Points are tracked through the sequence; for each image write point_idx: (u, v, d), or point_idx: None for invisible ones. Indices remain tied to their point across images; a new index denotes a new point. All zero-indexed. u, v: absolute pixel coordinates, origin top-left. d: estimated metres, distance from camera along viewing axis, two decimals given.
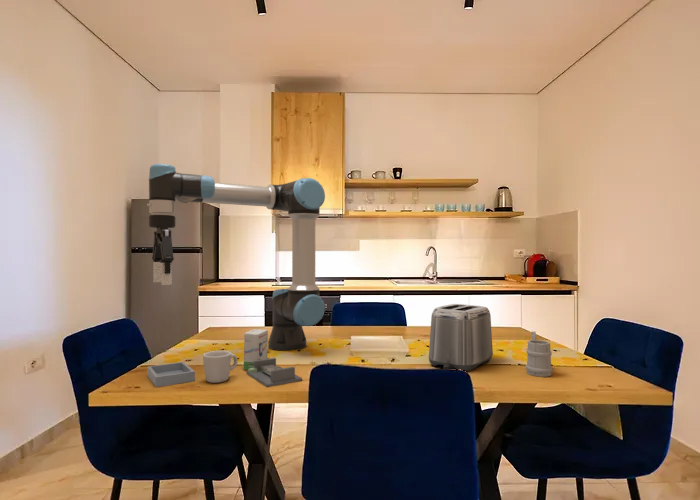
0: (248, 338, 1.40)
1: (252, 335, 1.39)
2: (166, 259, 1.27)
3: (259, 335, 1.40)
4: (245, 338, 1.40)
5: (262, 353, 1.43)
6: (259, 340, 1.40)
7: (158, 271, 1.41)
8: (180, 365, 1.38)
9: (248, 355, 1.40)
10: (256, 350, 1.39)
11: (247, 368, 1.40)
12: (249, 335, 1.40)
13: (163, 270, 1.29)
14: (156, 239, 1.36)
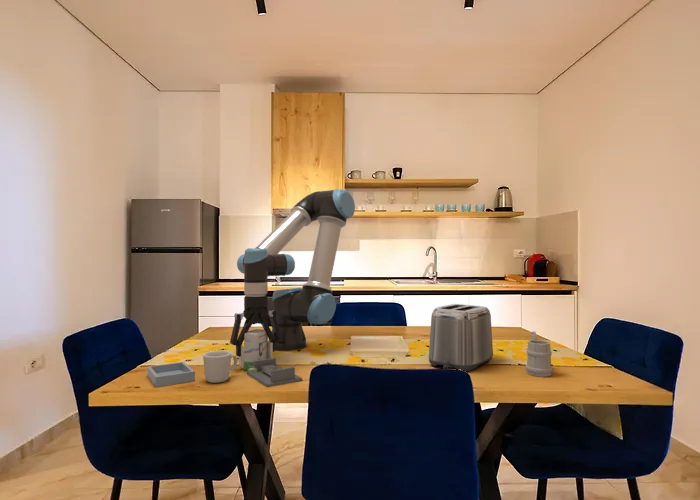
0: (248, 337, 1.40)
1: (252, 335, 1.39)
2: None
3: (259, 335, 1.40)
4: (244, 338, 1.40)
5: (262, 353, 1.43)
6: (259, 339, 1.40)
7: (268, 351, 1.46)
8: (180, 365, 1.38)
9: (248, 355, 1.40)
10: (256, 350, 1.39)
11: (247, 368, 1.40)
12: (249, 335, 1.40)
13: None
14: None
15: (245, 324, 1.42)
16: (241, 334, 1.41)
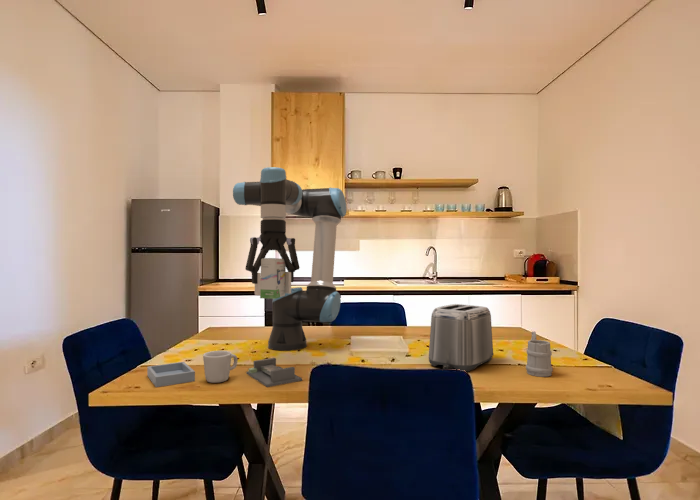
0: (265, 263, 1.28)
1: (269, 260, 1.28)
2: (246, 269, 1.28)
3: (277, 261, 1.29)
4: (261, 264, 1.28)
5: (280, 282, 1.32)
6: (277, 266, 1.29)
7: (286, 282, 1.35)
8: (180, 365, 1.38)
9: (265, 282, 1.28)
10: (274, 276, 1.28)
11: (264, 296, 1.28)
12: (266, 260, 1.28)
13: None
14: None
15: (262, 250, 1.30)
16: (257, 260, 1.29)
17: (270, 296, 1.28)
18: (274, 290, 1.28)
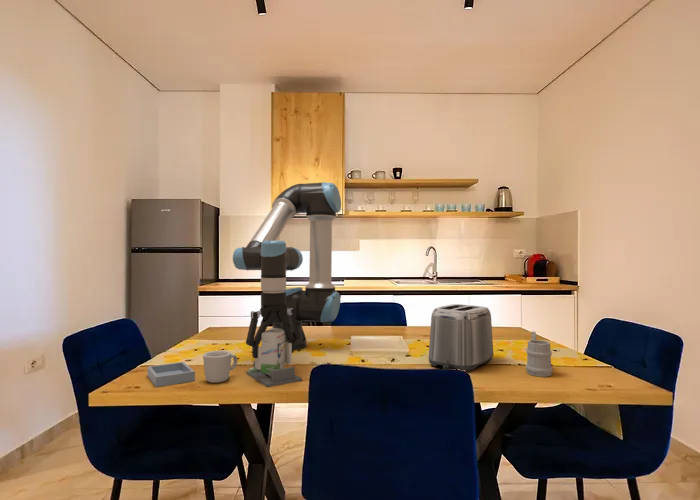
0: (266, 338, 1.28)
1: (270, 335, 1.28)
2: (246, 343, 1.28)
3: (277, 335, 1.29)
4: (262, 338, 1.28)
5: (281, 354, 1.32)
6: (277, 340, 1.29)
7: (287, 352, 1.35)
8: (180, 365, 1.38)
9: (266, 356, 1.28)
10: (274, 351, 1.28)
11: (264, 371, 1.28)
12: (267, 335, 1.28)
13: None
14: None
15: (262, 323, 1.30)
16: (258, 334, 1.29)
17: None
18: (275, 365, 1.28)
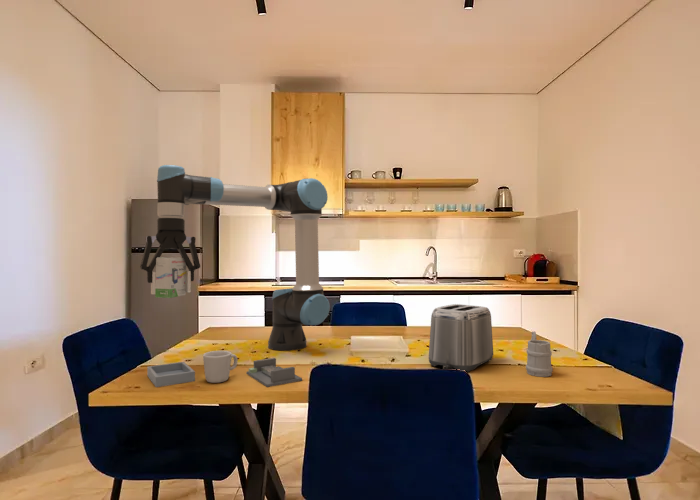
0: (160, 262, 1.27)
1: (164, 259, 1.27)
2: (140, 268, 1.27)
3: (172, 259, 1.28)
4: (156, 263, 1.27)
5: (178, 281, 1.30)
6: (172, 265, 1.27)
7: (186, 281, 1.33)
8: (180, 365, 1.38)
9: (160, 281, 1.27)
10: (168, 275, 1.26)
11: (159, 295, 1.27)
12: (161, 259, 1.27)
13: None
14: None
15: (158, 249, 1.29)
16: (153, 259, 1.28)
17: (165, 295, 1.27)
18: (169, 289, 1.26)
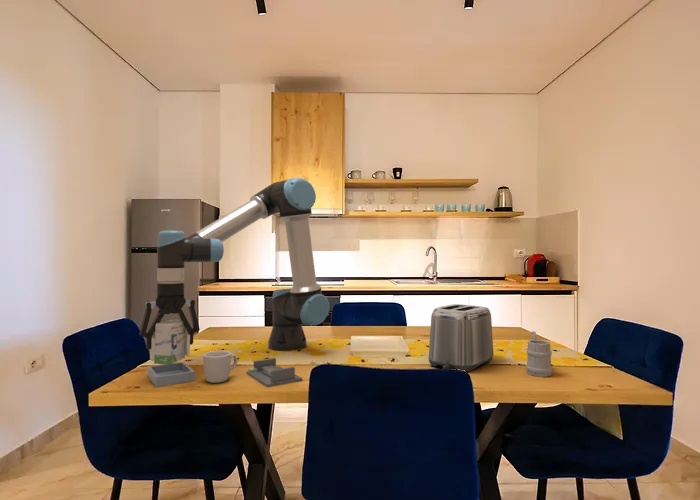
0: (159, 328, 1.27)
1: (163, 326, 1.27)
2: (140, 334, 1.27)
3: (172, 326, 1.27)
4: (155, 329, 1.27)
5: (177, 346, 1.30)
6: (172, 331, 1.27)
7: (186, 344, 1.33)
8: (180, 365, 1.38)
9: (159, 347, 1.27)
10: (167, 342, 1.26)
11: (158, 362, 1.27)
12: (160, 326, 1.27)
13: None
14: None
15: (158, 314, 1.29)
16: (152, 325, 1.28)
17: (164, 362, 1.26)
18: (168, 356, 1.26)
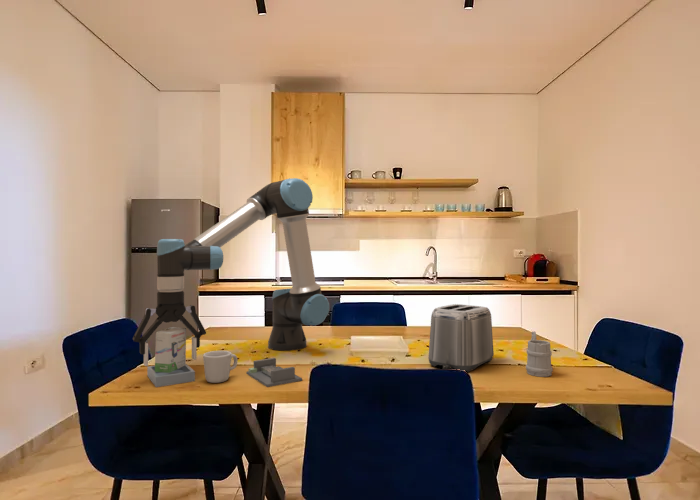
0: (160, 337, 1.27)
1: (164, 334, 1.27)
2: (133, 339, 1.26)
3: (172, 334, 1.27)
4: (156, 337, 1.27)
5: (178, 353, 1.30)
6: (172, 339, 1.27)
7: (192, 347, 1.34)
8: None
9: (159, 356, 1.27)
10: (168, 350, 1.26)
11: (158, 370, 1.27)
12: (160, 334, 1.27)
13: None
14: None
15: (156, 321, 1.29)
16: (148, 330, 1.27)
17: (164, 370, 1.27)
18: (168, 364, 1.26)
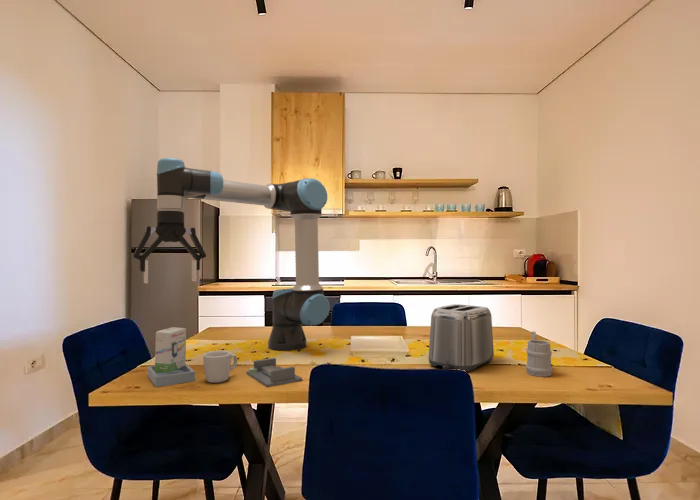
0: (160, 337, 1.27)
1: (164, 334, 1.27)
2: (133, 256, 1.26)
3: (172, 334, 1.27)
4: (156, 337, 1.27)
5: (178, 353, 1.30)
6: (172, 339, 1.27)
7: (192, 269, 1.35)
8: None
9: (159, 356, 1.27)
10: (168, 350, 1.26)
11: (158, 370, 1.27)
12: (160, 334, 1.27)
13: None
14: None
15: (156, 240, 1.29)
16: (148, 248, 1.27)
17: (164, 370, 1.27)
18: (168, 364, 1.26)
